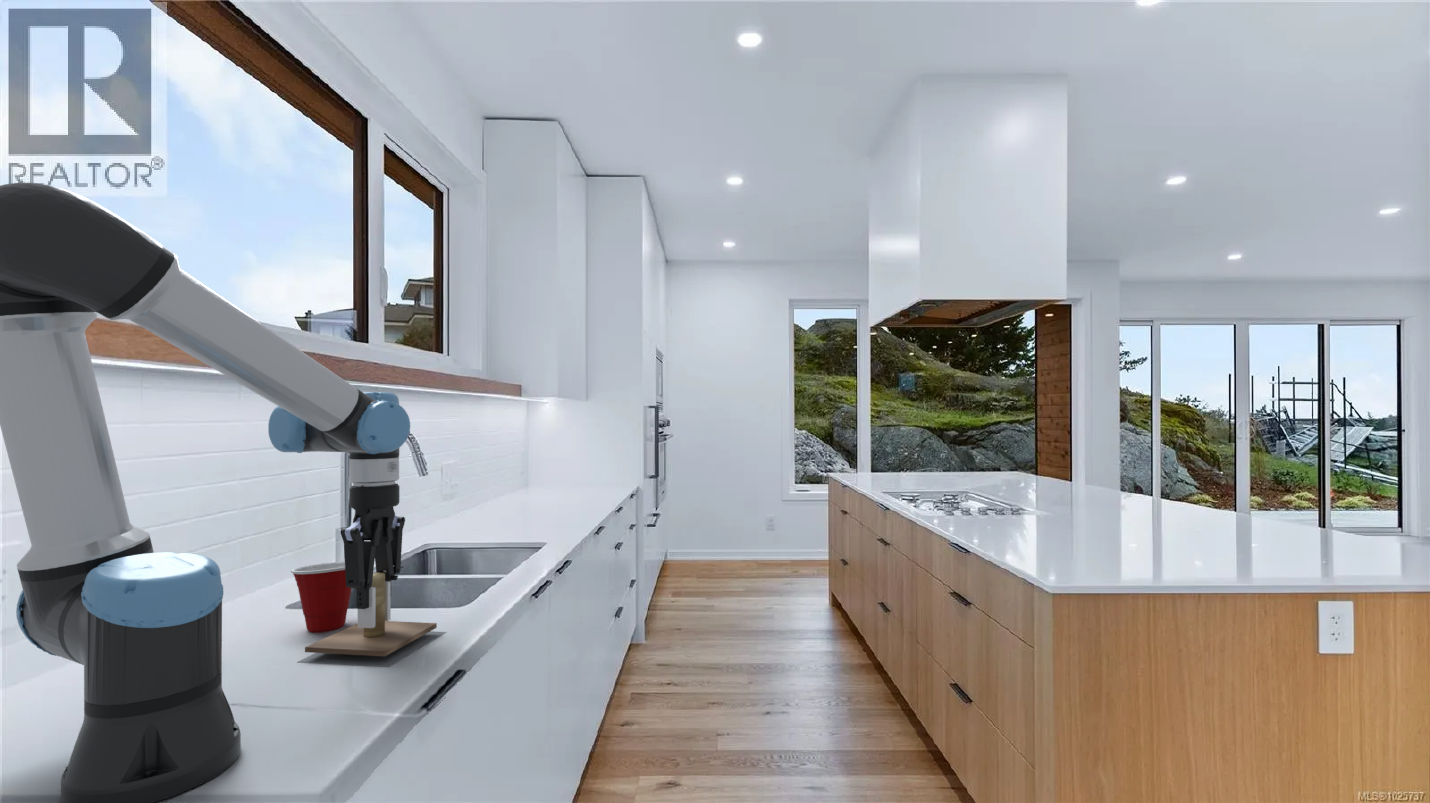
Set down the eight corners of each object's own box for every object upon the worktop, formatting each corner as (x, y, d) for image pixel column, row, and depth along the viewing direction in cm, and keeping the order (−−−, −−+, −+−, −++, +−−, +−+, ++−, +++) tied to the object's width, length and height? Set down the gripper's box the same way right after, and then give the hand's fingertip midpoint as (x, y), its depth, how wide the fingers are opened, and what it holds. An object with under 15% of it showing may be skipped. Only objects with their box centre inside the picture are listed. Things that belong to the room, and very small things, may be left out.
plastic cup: (357, 616, 128) (357, 554, 128) (362, 631, 119) (361, 565, 119) (291, 626, 122) (291, 562, 123) (290, 643, 113) (290, 574, 113)
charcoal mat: (388, 669, 101) (388, 666, 101) (296, 664, 104) (296, 662, 104) (446, 634, 117) (446, 631, 117) (365, 630, 120) (365, 628, 120)
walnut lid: (385, 656, 102) (385, 586, 102) (304, 652, 104) (305, 583, 105) (436, 627, 116) (436, 566, 116) (364, 624, 118) (365, 564, 118)
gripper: (361, 488, 102) (361, 640, 102) (423, 479, 118) (423, 610, 118) (318, 488, 103) (318, 638, 103) (385, 478, 119) (385, 608, 119)
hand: (374, 623), depth 110 cm, fingers closed on walnut lid, 3 cm apart
